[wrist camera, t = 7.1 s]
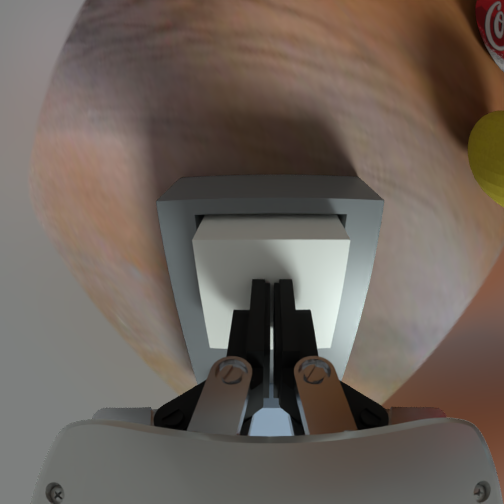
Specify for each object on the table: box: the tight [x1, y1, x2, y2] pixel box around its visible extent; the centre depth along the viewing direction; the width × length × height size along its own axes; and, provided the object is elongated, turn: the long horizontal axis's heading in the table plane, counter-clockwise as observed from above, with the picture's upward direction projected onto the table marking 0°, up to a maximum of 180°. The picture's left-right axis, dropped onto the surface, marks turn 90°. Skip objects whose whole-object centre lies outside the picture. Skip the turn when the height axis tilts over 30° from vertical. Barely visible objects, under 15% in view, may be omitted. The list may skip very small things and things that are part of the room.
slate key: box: [250, 383, 292, 436], centre depth 20 cm, size 6×6×4 cm
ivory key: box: [192, 213, 350, 350], centre depth 14 cm, size 6×6×4 cm
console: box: [156, 175, 384, 384], centre depth 18 cm, size 20×10×4 cm, turn 2°
